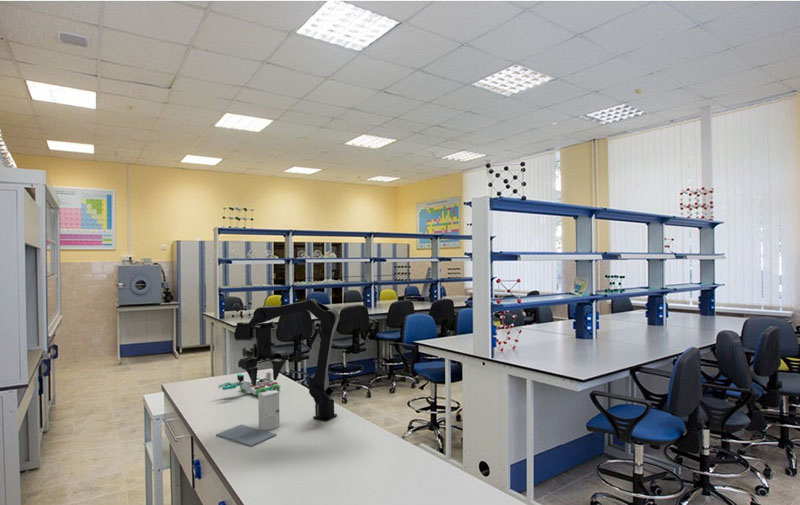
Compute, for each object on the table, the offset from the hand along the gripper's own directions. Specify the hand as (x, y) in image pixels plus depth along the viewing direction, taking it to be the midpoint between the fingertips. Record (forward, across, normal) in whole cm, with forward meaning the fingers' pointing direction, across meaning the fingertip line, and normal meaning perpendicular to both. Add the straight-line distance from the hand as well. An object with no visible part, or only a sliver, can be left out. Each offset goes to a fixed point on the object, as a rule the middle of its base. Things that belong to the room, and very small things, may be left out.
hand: (264, 382), depth 164 cm
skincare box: (+13, +5, +9) cm, 17 cm away
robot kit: (+13, -16, -31) cm, 37 cm away
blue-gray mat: (+13, +14, +8) cm, 21 cm away
